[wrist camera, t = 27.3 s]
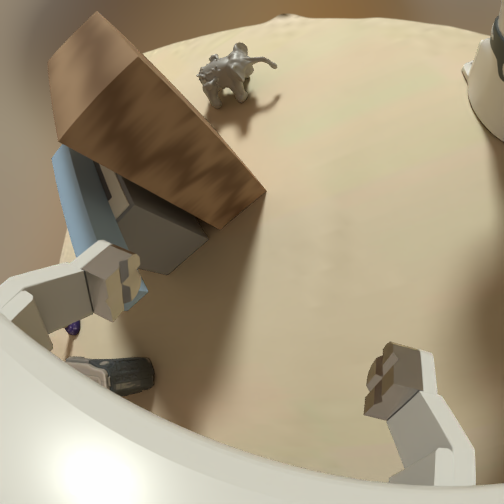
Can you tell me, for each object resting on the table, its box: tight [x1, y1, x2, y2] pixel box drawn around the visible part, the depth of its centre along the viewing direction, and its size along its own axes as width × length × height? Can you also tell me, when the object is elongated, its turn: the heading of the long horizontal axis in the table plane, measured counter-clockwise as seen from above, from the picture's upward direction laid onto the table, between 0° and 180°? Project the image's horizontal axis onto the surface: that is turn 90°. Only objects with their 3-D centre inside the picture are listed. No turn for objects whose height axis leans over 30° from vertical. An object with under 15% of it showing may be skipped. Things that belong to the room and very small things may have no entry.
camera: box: [65, 357, 154, 396], centre depth 38 cm, size 11×6×10 cm, turn 95°
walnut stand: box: [48, 11, 266, 230], centre depth 32 cm, size 8×18×26 cm, turn 35°
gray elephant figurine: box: [196, 43, 277, 108], centre depth 41 cm, size 9×12×8 cm
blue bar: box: [52, 144, 148, 311], centre depth 27 cm, size 3×20×4 cm, turn 35°
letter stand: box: [93, 161, 209, 275], centre depth 39 cm, size 8×18×15 cm, turn 35°
